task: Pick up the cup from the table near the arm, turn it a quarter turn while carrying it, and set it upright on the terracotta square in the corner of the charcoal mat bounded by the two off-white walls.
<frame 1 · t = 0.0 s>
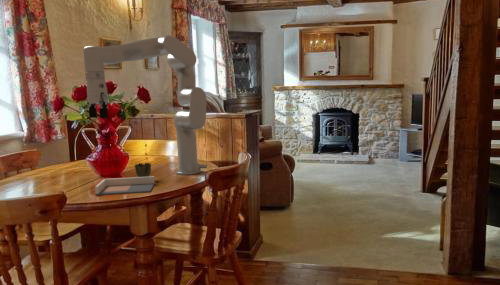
hand: (98, 117, 182), 31 cm above the table, tool pointing down, fingers open, 9 cm apart
cup: (143, 181, 202), on the table
corner walls: (126, 184, 185), on the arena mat, point 2 cm above the table
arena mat: (126, 189, 186), on the table
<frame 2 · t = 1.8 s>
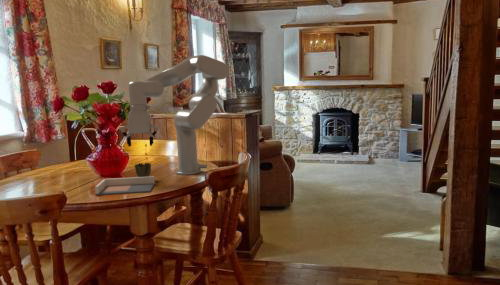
hand: (140, 145, 199), 17 cm above the table, tool pointing down, fingers open, 9 cm apart
nothing on the table moved.
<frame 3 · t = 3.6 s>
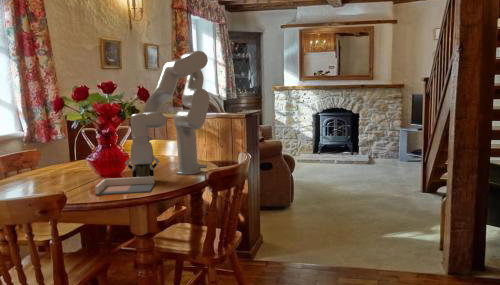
hand: (143, 177, 202), 1 cm above the table, tool pointing down, fingers closed on cup, 6 cm apart
cup: (143, 181, 202), on the table, touching gripper
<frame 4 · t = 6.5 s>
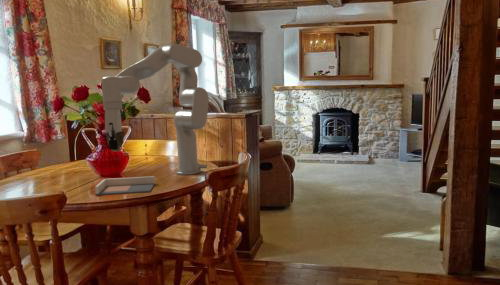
hand: (115, 147, 184), 18 cm above the table, tool pointing down, fingers closed on cup, 6 cm apart
cup: (116, 151, 184), point 16 cm above the table, touching gripper
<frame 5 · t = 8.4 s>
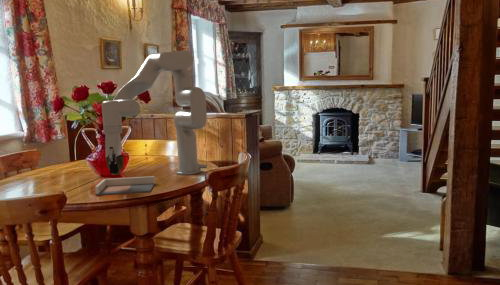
hand: (115, 171, 184), 8 cm above the table, tool pointing down, fingers closed on cup, 6 cm apart
cup: (116, 174, 185), point 7 cm above the table, touching gripper
when the fingers open (4 cm above the table, at t = 9.8 s): cup drops 2 cm, resting on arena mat.
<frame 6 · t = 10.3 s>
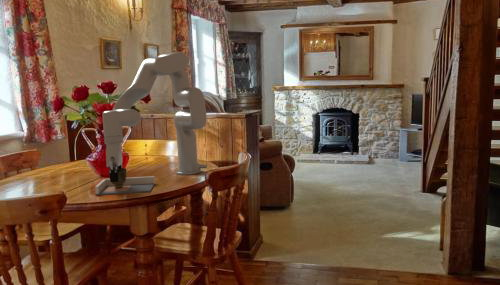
hand: (116, 179, 185), 5 cm above the table, tool pointing down, fingers open, 9 cm apart
cup: (118, 188, 186), resting on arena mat, touching gripper
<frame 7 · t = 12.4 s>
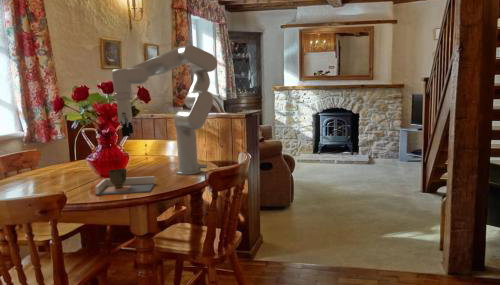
hand: (128, 134, 195), 22 cm above the table, tool pointing down, fingers open, 9 cm apart
cup: (118, 188, 186), resting on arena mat
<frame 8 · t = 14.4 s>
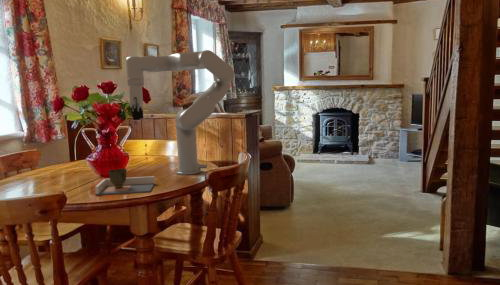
hand: (138, 119, 207), 28 cm above the table, tool pointing down, fingers open, 9 cm apart
nothing on the table moved.
at the end: cup 1.0 cm from the target spot, resting on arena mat; cup tilted 0°; the gripper is holding nothing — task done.
